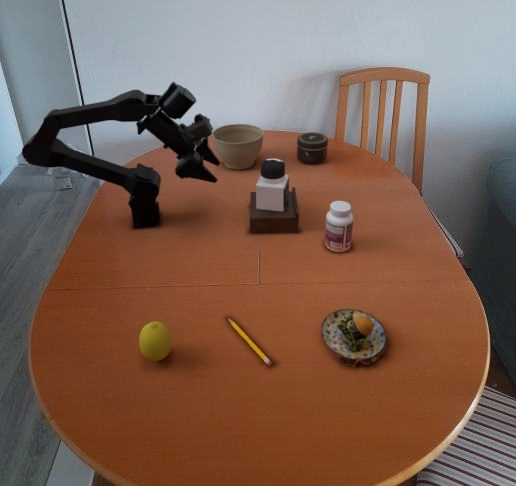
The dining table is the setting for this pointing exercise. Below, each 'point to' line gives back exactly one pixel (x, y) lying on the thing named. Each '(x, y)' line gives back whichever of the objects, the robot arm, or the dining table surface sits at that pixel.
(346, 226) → the pill bottle
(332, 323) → the food bowl
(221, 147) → the planter bowl
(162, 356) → the lemon
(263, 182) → the medicine bottle
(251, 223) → the dark brown lipped tray
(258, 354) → the pencil
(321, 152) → the jar
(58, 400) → the dining table surface
